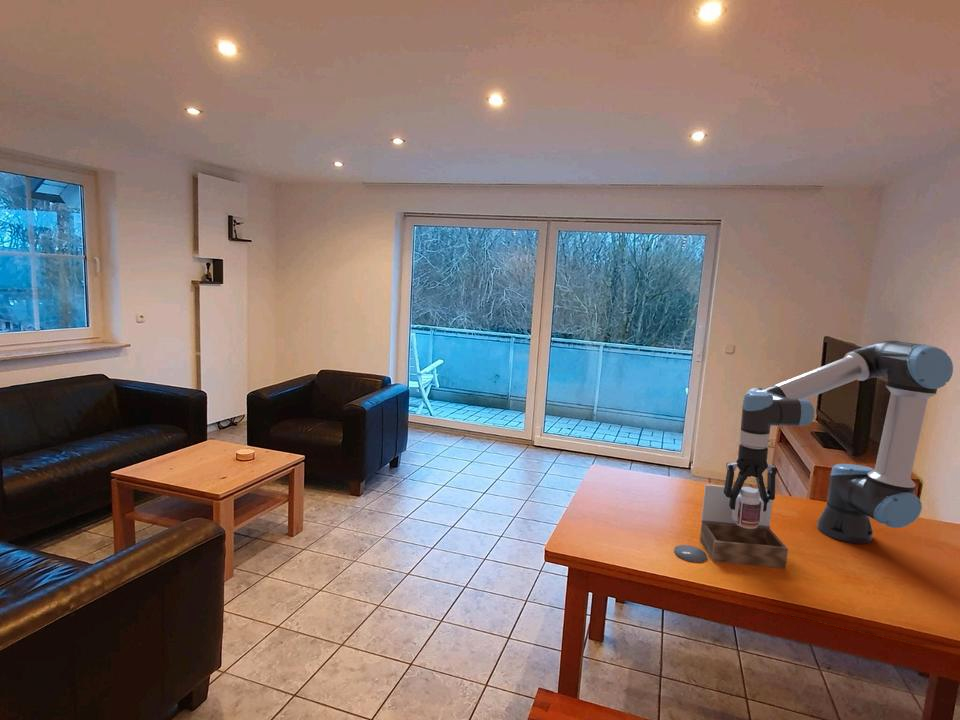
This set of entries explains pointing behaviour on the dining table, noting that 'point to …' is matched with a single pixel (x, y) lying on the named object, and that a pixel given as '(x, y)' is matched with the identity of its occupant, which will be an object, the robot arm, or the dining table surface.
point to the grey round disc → (690, 553)
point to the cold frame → (743, 545)
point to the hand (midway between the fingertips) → (746, 520)
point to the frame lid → (725, 508)
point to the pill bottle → (748, 508)
